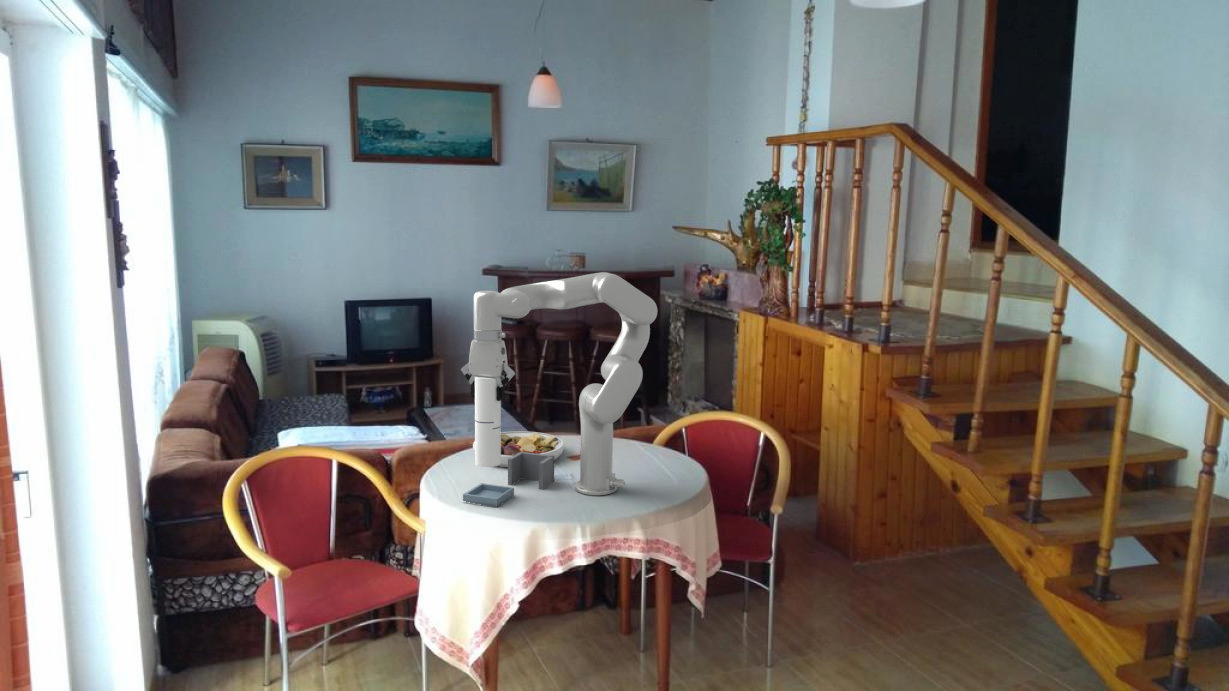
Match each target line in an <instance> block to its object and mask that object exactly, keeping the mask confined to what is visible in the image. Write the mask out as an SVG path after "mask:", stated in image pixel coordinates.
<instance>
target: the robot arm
mask: <svg viewBox="0 0 1229 691" xmlns="http://www.w3.org/2000/svg"><path fill="white" fill-rule="evenodd" d="M600 303H604V304H606V305H607V306H609V307H610V308H612V309H613V310H615V312H617V313H618V314H619V317H620V318H621V329H620V330H621V331H620V333H619V335H618V337H617V339H616V341H615V342H614V345H612V348H611V350H610V351H609V353H608V354H607V356H606V357H605V359H604V361H603V362H602V364H601V366H600V372H601V373H600V374H601V376H602V378H603V379H604V380H605V381H604V383H603V384H601V383H597V382H596V383H591V384H588V385H587V386H585V387H584V388H583V389H582V390H581V392H580V395H579V400H578V407H579V418H580V419H579V420H580V452H579V453H580V458H579V459H580V463H579V464H580V465H579V471H580V472H579V473H580V474H579V476H580V477H579V481H577V482H575V484H574V489H575V491H576V492H578V493H579V494H583V495H587V496H605V495H606V496H607V495H610V494H612V493H615V492H616V491H617V490H618V488H621V489H624V488H626V487H625V486H626V482H625V479H624V478H617V477H616V473H614V472H613V453H614V452H613V451H614V450H613V448H614V447H613V446H614V445H613V443H614V423H615V422H617V421H618V420H619V419H620V418H621V416H622V415H623V414H624V413H625V411H626V409H627V408H628V406H629V405H630V403H631V401H632V399H633V398H634V396H635V394H636V393H637V391H638V390H639V388H640V386H641V384H642V381H643V373H644V372H643V368H642V366H641V364H640V363H639V361H640V358H641V357H642V355H643V353H644V351H645V350H646V348H647V346H648V343H649V340H650V334H651V332H650V331H651V328H650V327H651V326H650V325H651V324H652V323H654V321H655V320H656V319H657V316H658V307H657V304H656V302H655V301H654V300H653V298H651V297H650V296H649V295H647V294H645V293H644V292H643V291H642V290H640V289H638V288H636V287H635V286H633V285H632V284H631V283H630V282H628V281H627V280H625V279H623V278H622V277H621V276H620V275H617V274H615V273H610V272H607V271H602V272H595V273H589V274H583V275H579V276H573V277H567V278H560V279H556V280H549V281H542V282H536V283H535V282H534V283H528V284H523V285H522V284H521V285H517V286H511V287H508V288H505V289H503V290H502V291H501V292H499V291H495V290H479V291H476V292H475V293H474V294H473V339H472V340H471V343H470V348H469V355H468V356H469V357H468V362H467V363H466V364H464V366H462V367H461V368H460V371H461V372H462V374H463V375H464V377H465V379H466V380H467V381H468V384H469V385H470V395H471V399H475V376H483V377H494V378H496V381H497V383H498V387H497V401H501V402H502V401H503V400H504V399H505V396H506V385H508V383H509V382H510V381H511V379H512V378H513V377H514V376H515V375H516V373H515V371H514V370H513V369H512V368H511V367H510V366H509V365H508V355H507V348H506V343H505V341H504V340H503V339H502V338H506V333H505V332H503V330H502V318H510V319H511V318H512V319H521V318H524V317H525V316H527V315H528V314H529V313H530V311H532V310H538V309H554V310H569V309H570V310H571V309H575V308H579V307H582V306H583V307H584V306H589V305H595V304H600Z"/></svg>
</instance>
